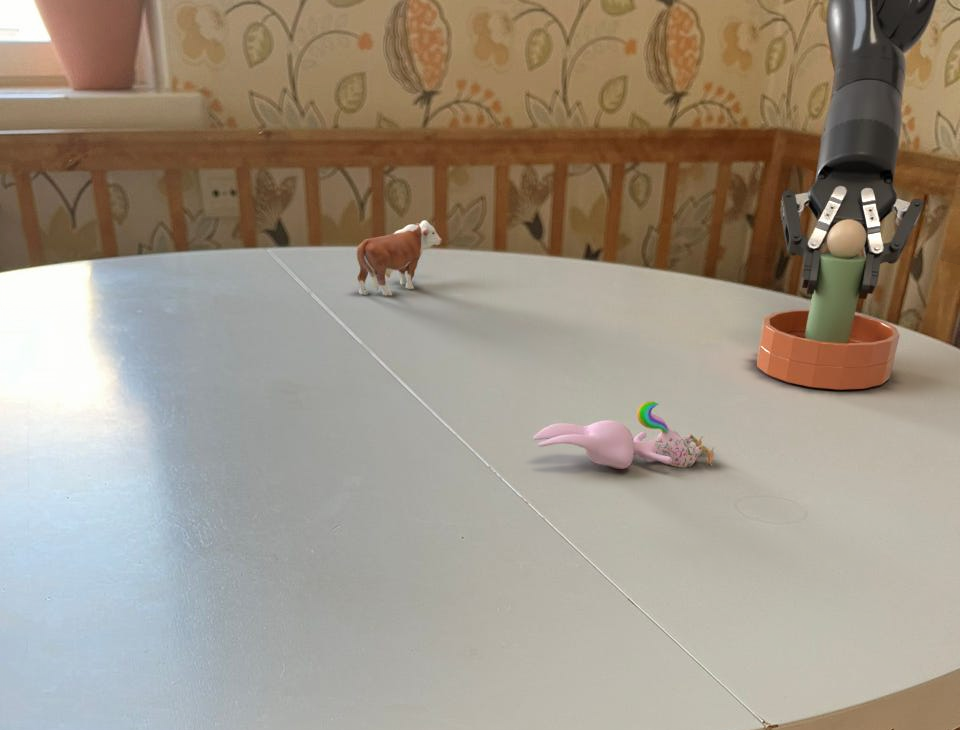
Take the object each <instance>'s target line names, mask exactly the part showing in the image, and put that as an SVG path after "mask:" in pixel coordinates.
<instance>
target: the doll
mask: <svg viewBox="0 0 960 730" xmlns="http://www.w3.org/2000/svg"><path fill="white" fill-rule="evenodd" d="M865 242H866V232H865V229H864V227H863V226H862V225H861V224H860V223H859V222H858V221H855V220H852V219H846V220H842V221H840V222H838V223H836V224H835V225H834V226H833V227H832V228H831V230H830V232H829V234H828V237H827V242H826V245H827V249H828V251H825V252H821V255H820V262H819V268H818V275H817V281H816V286H815V290H814V294H811V299H810V306H809V309H810V310H809V309H808V310H809V315H808V320H807V326H806V331H805V337H806V338H807V339H811V340H816V341H822V342H835V343H846V342H848V341H849V339H850V334H851V329H852V325H853V320H854V315H855V314H856V310H857V305H858V302H859V301H858V300H859V291H860V286H861V281H862V277H863V272H864V267H865V262H866V257H865V256H864V255H861V254H860V252H861V251H863V247H864V245H865Z"/></svg>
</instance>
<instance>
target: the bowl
mask: <svg viewBox="0 0 960 730" xmlns="http://www.w3.org/2000/svg"><path fill="white" fill-rule="evenodd" d="M809 310H810V308H808V309H788V310H782V311H778V312H773V313H771V314H769V315H767V316H765V317H764V318H763V320H762V327H761V333H760V338H759V344H758V345H759V346H758V350H757V358H756V367H757V368H758V369H759V370H761V371H762V372H763V373H764V374H766V375H768V376H770V377H773V378H775V379H778V380H781V381H783V382H786V383H790V384H794V385H800V386H804V387H809V388H816V389H829V390H839V391H840V390H865V389H869V388H872V387H877V386H882V385H883V384H884V383H886V382H887V381H888V380H890V378H891V375H892V370H893V366H894V362H895V357H896V353H897V350H898V349H897V348H898V344H899V340H900V336H901V335H900V333H899V330H898V328H897V327H896V326H893V325H892V324H890V323H889V322H886V321H885V320H881V319H877V318H874V317H872V316H871V317H870V316H867V315H864V314H859V313H855V315H854V320H853V325H852V329H851V334H850V339H849V341H848V342H846V343H835V342H822V341H816V340H811V339H807V338H806V337H805V331H806V326H807V320H808V315H809Z"/></svg>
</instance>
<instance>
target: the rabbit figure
mask: <svg viewBox="0 0 960 730" xmlns="http://www.w3.org/2000/svg"><path fill="white" fill-rule="evenodd" d="M658 405H660V403H657V402H656V401H652V400H651V401H650V400H649V401H646V402H644V403H642V404H640V406H639V407H638V409H637V411H636V417H637V421H638V422H639V424H641V426H643V427H644V428H646V429H650V430H651V429H652V430H661V431H660V433H658V435H657V436H656V437H655V438H653V439H651V440H650V439H649V440H643V439H645V438H647V432H645V431H640V433H638V434H637V435H636V436H635V437H634V436H633V434H632V432H631V430H630V429H629V428H628V427H627V426H626V425H625V424H623V423H622V422H619V421H615V420H608V419H607V420H605V419H604V420H600V421H596V422H593V423H591V424H589V425H579V424H575V423H567V422H561V423H560V422H559V423H552V424H550V425H547V426H546V427H544V428H542V429H541V430H539V431H538V432H536V434H534V436H533V437H532V440H533V441H539V440H543V441H541V442H539V443H537V446H538V447H539V448H540V447H547V446H548V447H549V446H553V445H559V444H560V445H561V444H565V445H573V446H577V447H580V448H583V449H584V452H585V454H586V456H587V458H589V460H590V461H592V463H594V464H596V465H604V466H606V467H608V468H612V469H616V470H623V469H627V468H628V467H630V465H631V464H632V462H633V459H634V456H635V457H639V458H640V459H641V460H643V461H644V462H646V463H653V462H655V461H657V462H660V463H662V464H664V465H666V466H671V467H674V468H680V469H681V468H683V469H684V468H690V467H692V466H693V465H694V463H695V462H696V461H697V459H698V457H699V456H701V455H702V453H703V452H704V453H706V455H707V457H706V460H705V461H706V465H707V466H708V465H709V466H713V464H712V463H713V460H714V459H713V458H714V449H715V448H716V446H713V447H712V448H711V449H708V448H707V447H706V445H704V444H703V442H702V439H703V438H704V435H701V436H700V438H699V439H697V438H696V436H694V435H693V434H691V433H690V434H688V435H686V436H681V435H680V434H679V432H677V431H675V430H673V429H671V428H670V427H669V425H668V424H667V422H666V421H665V419H663V418H662V417H661V416H659V415H655V414H653V413H652V411H653V409H654V408H656V407H657V406H658ZM692 442H693V443H695V446H692V445H691V443H692Z"/></svg>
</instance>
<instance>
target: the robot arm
mask: <svg viewBox="0 0 960 730" xmlns="http://www.w3.org/2000/svg"><path fill="white" fill-rule="evenodd" d="M936 4H937V0H828V1H827V6H826V19H825V24H826V34H827V40H828V46H829V51H830V58H831V59H830V60H831V64H832V69H833V80H832V88H831V92H830V100H829V105H828V109H827V112H826V115H825V117H824V118H825V119H824V121H823V122H824V123H823V128H822V134H821V137H820V147H819V154H818V159H817V167H816V172H815V173H816V174H815V179H814V183H813V184H812V186H811V187H809V190H808V191H806V192H801V193H796V192H795V191H794V190H793V189H786V190H784V191H783V192H782V198H781V202H780V206H779V207H780V209H779V213H780V219H781V224H782V229H783V235H784V240H785V245H786V251H787V253H788V255H790V256H792V257H793V256H800V257H801V258H802V259H803V265H802V266H803V267H802V273H801V279H800V286H801V288H802V289H806V292H805V293H806V295H812V294H814V290H815V286H816V281H817V275H818V268H819V262H820V255H821V253H822V250H823V248H824V247H825V246H826V245H827V237H828V234H829V232H830V230H831V228H832V227H833V226H834V225H835V224H836V223H838V222H840V221H842V220H846V219H852V220H855V221H858V222H859V223H860V224H861V225H862V226H863V227H864V229H865V232H866V242H865V245H864V247H863V249H862V251H863V256H864V257H866V262H865V267H864V272H863V277H862V281H861V286H860V291H859V296H858V300H859V299H861V300H867V297H868V295H869V294H870V295H873V294H874V292H875V290H876V288H877V285H878V282H879V276H880V275H879V274H880V268H881V265H882V264H884V263H888V264H890V265H892V264H893V265H894V264H896V263H898V260H899V258H900V257H901V255H902V252H903V251H904V249H905V247H906V244H907V243H908V241H909V239H910V236H911V235H912V232H913V231H914V229H915V227H916V225H917V223H918V221H919V218H920V215H921V213H922V210H923V208H924V205H925V204H924V201H923V200H922V199H921V198H913V199H912V200H911V201H908V200H903V199H900V198H898V195H897V192H896V191H895V188H894V181H895V174H896V167H897V158H898V152H899V144H900V137H901V130H902V120H903V118H902V117H903V114H902V105H903V104H902V103H903V98H904V97H903V96H904V89H905V81H906V75H907V74H906V73H907V59H906V56H905V53H907V52H909V51H910V50H911V49H913V48H914V47H915V46H916V45H917V44H918V42H919V41H920V40H921V38H922V37H923V36H924V34H925V33H926V31H927V28H928V26H929V25H930V22H931V20H932V17H933V14H934V11H935V8H936ZM806 207H808V209H809V210H810V212H811V213H812V215H813V216H814V217H815V219H816V221H817V222H816V225H815V227H814V229H813V232H812V234H811V235H810V237H807V236H806V235H804V234H803V229H802V224H801V219H800V217H802V216H803V213H804V209H805V208H806ZM891 213H893V214H894V215H895V217H894V222H895V224H896V226H897V229H896V230H895V233H894V235H893V236H892V239H891V240H890V242H884V243H883V239H882V234H881V233H882V232H881V222H882V221H884V219H885V218H886V217H888V216H889V215H890V214H891Z"/></svg>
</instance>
